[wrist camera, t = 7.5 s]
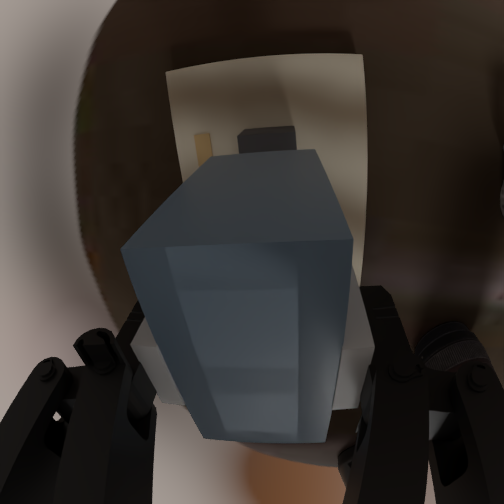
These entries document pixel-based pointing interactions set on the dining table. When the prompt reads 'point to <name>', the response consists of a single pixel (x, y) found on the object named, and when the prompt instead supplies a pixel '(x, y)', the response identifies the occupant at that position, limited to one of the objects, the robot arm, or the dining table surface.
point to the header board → (279, 119)
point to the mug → (502, 197)
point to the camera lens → (450, 348)
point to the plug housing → (249, 294)
